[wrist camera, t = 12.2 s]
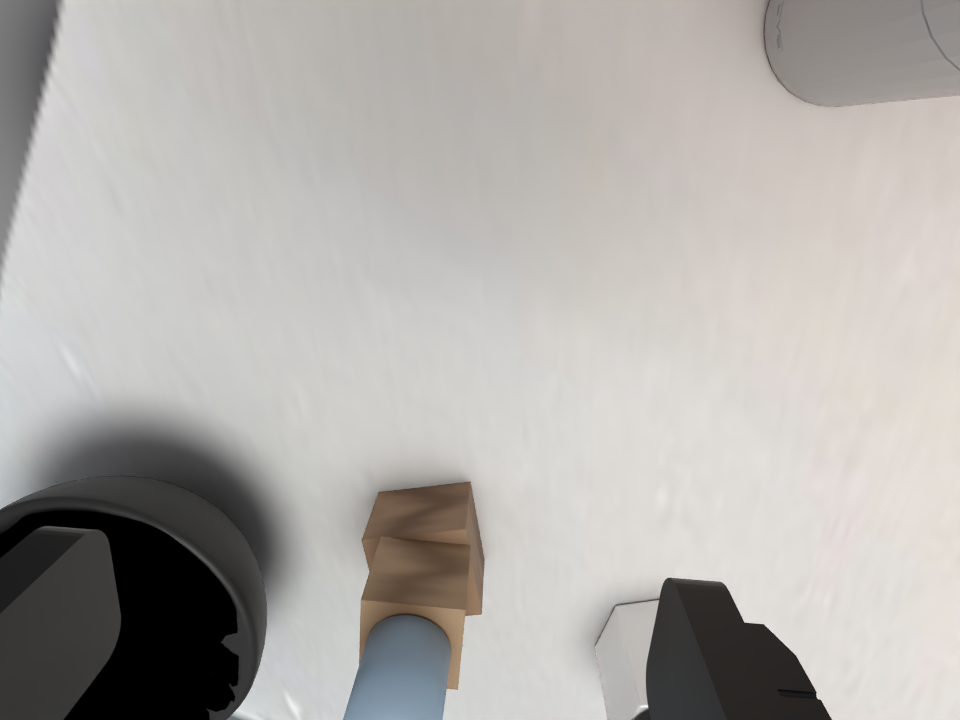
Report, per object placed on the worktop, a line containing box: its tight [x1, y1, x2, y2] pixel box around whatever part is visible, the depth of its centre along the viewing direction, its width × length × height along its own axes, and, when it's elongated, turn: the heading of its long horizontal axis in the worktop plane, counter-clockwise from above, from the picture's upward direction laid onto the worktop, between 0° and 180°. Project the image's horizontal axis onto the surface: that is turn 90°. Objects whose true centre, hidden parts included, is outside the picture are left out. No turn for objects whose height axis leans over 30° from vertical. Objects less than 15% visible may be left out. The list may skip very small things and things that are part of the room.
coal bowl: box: [0, 476, 267, 720], centre depth 40 cm, size 20×20×19 cm
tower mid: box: [359, 536, 471, 690], centre depth 39 cm, size 6×6×6 cm
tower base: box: [362, 482, 484, 616], centre depth 45 cm, size 7×7×6 cm
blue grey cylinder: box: [343, 615, 451, 720], centre depth 34 cm, size 5×5×6 cm
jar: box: [595, 600, 659, 720], centre depth 45 cm, size 9×8×12 cm
